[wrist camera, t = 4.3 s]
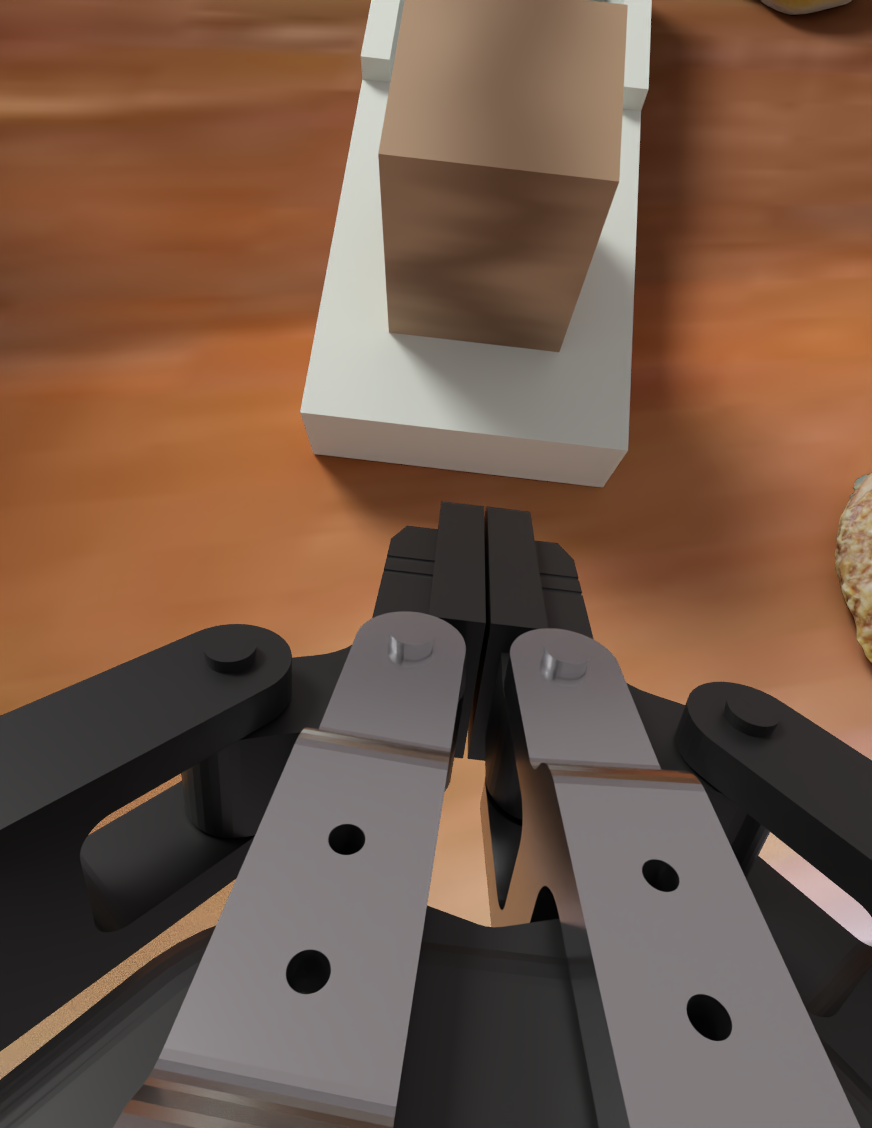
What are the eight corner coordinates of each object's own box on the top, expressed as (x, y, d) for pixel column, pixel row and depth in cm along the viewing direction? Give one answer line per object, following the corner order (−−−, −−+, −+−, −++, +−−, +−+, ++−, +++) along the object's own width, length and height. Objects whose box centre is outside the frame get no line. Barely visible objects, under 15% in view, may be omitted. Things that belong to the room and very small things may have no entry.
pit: (367, 148, 33) (360, 56, 29) (400, -34, 36) (398, -141, 32) (617, 177, 33) (648, 89, 29) (626, -8, 36) (655, -112, 32)
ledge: (313, 453, 29) (300, 412, 25) (367, 148, 33) (362, 79, 30) (603, 487, 29) (628, 450, 25) (617, 177, 33) (640, 111, 30)
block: (389, 332, 26) (378, 154, 19) (409, 194, 28) (408, -21, 20) (559, 352, 26) (619, 181, 19) (569, 213, 28) (627, 4, 20)
